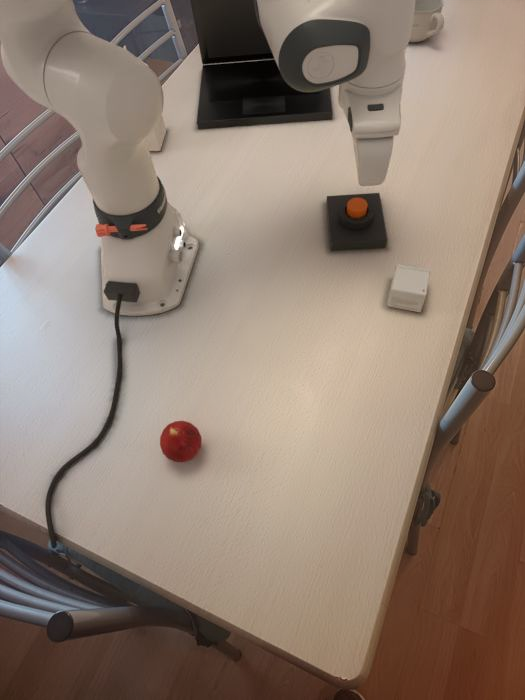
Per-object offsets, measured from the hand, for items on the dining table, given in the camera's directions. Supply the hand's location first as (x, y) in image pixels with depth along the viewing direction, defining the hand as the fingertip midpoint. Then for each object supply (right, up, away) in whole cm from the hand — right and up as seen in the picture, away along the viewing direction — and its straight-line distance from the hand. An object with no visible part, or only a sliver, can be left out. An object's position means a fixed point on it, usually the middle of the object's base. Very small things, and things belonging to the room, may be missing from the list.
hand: (361, 168), depth 83 cm
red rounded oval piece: (-28, -45, -8) cm, 54 cm away
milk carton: (-42, +16, +29) cm, 54 cm away
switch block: (+1, -7, +11) cm, 13 cm away
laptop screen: (-17, +45, +28) cm, 56 cm away
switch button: (+1, -5, +8) cm, 10 cm away
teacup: (+22, +47, +41) cm, 66 cm away
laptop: (-16, +30, +34) cm, 48 cm away
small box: (+8, -21, +2) cm, 23 cm away
